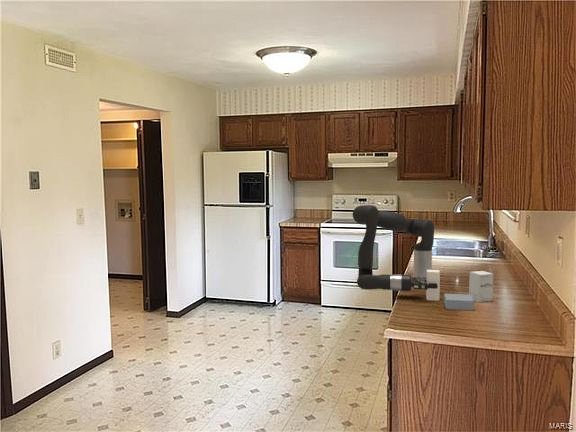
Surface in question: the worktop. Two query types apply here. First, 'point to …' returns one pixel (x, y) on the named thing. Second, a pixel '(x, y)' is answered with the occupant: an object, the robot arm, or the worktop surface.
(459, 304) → the plinth
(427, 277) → the cream block
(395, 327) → the worktop surface
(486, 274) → the supplement box
